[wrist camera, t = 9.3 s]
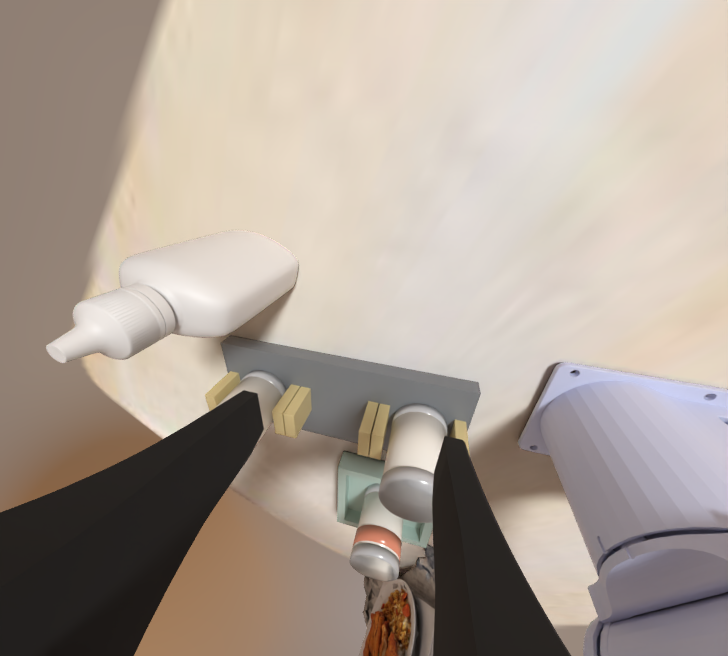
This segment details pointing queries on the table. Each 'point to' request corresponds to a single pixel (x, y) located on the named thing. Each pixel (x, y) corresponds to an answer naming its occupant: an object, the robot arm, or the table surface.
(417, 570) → the meal
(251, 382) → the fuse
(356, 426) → the fuse holder
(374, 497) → the cylinder
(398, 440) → the fuse
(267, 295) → the eye dropper bottle
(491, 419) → the table surface
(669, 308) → the table surface
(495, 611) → the robot arm
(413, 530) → the tray
